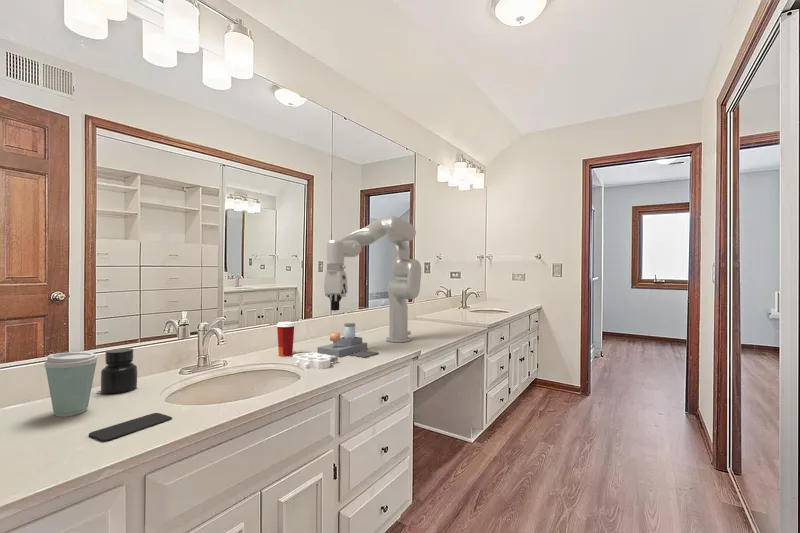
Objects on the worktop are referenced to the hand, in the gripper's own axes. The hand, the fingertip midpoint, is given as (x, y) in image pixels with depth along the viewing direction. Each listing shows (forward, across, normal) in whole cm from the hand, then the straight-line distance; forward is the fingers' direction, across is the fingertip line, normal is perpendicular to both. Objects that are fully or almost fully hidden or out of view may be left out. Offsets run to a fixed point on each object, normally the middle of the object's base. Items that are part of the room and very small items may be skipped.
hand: (335, 310), depth 168 cm
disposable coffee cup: (+19, +10, +88) cm, 91 cm away
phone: (+20, -13, +84) cm, 88 cm away
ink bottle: (+19, +21, +74) cm, 79 cm away
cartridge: (+16, 0, -10) cm, 19 cm away
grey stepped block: (+19, 0, -6) cm, 20 cm away
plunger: (+17, 0, 0) cm, 17 cm away
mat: (+19, -12, -6) cm, 23 cm away
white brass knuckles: (+20, -5, +18) cm, 27 cm away
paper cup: (+19, +16, +14) cm, 28 cm away
